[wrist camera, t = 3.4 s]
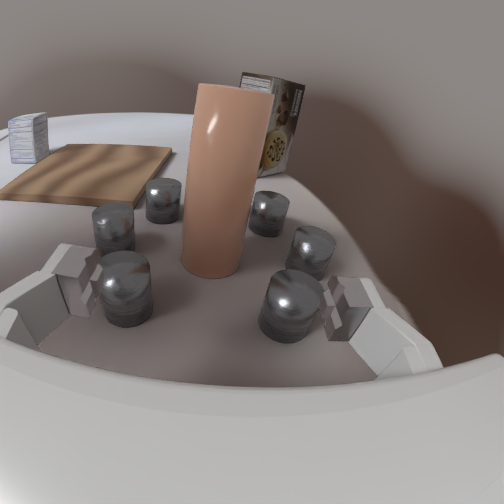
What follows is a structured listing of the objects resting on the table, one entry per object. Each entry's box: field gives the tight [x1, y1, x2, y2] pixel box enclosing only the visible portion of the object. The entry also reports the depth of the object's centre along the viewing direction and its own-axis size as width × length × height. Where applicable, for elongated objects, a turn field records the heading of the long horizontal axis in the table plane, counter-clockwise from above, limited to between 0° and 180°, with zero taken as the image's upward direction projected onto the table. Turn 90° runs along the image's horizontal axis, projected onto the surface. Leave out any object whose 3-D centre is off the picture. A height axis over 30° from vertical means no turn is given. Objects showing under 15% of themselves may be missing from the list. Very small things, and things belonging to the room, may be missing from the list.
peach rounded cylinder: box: [181, 84, 275, 279], centre depth 20 cm, size 5×5×14 cm
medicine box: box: [8, 113, 49, 163], centre depth 34 cm, size 8×4×9 cm, turn 88°
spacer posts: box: [92, 178, 336, 343], centre depth 23 cm, size 21×19×4 cm
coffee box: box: [239, 72, 305, 178], centre depth 41 cm, size 9×6×16 cm
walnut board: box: [0, 144, 172, 209], centre depth 35 cm, size 22×22×1 cm
